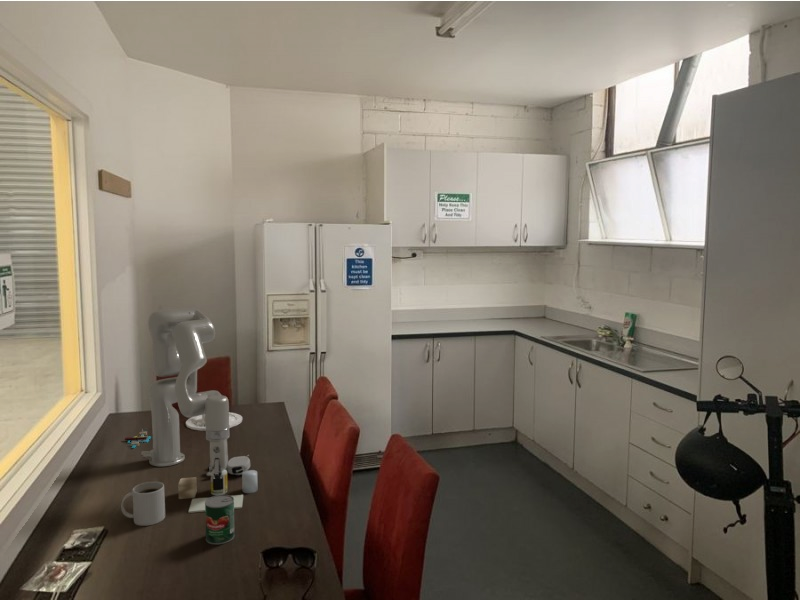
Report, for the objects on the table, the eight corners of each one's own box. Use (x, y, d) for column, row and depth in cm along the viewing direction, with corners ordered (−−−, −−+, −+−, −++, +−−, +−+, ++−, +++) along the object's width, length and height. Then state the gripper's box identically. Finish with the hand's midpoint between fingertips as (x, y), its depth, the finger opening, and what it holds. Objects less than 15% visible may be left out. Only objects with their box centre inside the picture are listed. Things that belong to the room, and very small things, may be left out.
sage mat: (188, 512, 183) (188, 511, 183) (192, 500, 192) (192, 498, 192) (241, 508, 186) (241, 506, 186) (243, 496, 195) (243, 494, 195)
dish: (187, 417, 281) (186, 394, 279) (241, 412, 288) (240, 390, 287) (184, 433, 257) (183, 408, 256) (243, 428, 265) (243, 403, 264)
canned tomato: (207, 547, 163) (206, 508, 162) (204, 533, 170) (203, 497, 169) (236, 541, 166) (235, 503, 165) (232, 528, 173) (231, 492, 172)
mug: (171, 514, 182) (170, 483, 181) (149, 529, 173) (147, 496, 172) (143, 509, 185) (142, 478, 184) (120, 523, 176) (118, 490, 175)
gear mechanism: (118, 451, 237) (143, 449, 238) (118, 437, 236) (142, 436, 238) (132, 434, 256) (154, 433, 258) (131, 422, 256) (154, 421, 257)
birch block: (178, 499, 193) (178, 484, 192) (181, 492, 198) (180, 478, 197) (194, 497, 194) (194, 483, 193) (196, 491, 199) (196, 477, 198)
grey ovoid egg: (242, 493, 197) (241, 476, 196) (242, 487, 202) (242, 470, 201) (257, 492, 198) (257, 475, 197) (257, 486, 203) (257, 469, 202)
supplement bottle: (216, 497, 194) (215, 469, 193) (207, 492, 197) (206, 465, 196) (230, 492, 198) (230, 464, 197) (221, 487, 201) (221, 460, 200)
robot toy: (206, 483, 207) (250, 477, 210) (204, 471, 207) (248, 465, 209) (210, 470, 219) (251, 464, 222) (209, 458, 219) (250, 452, 221)
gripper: (227, 441, 188) (228, 495, 190) (231, 424, 205) (232, 474, 207) (202, 442, 186) (204, 497, 188) (208, 425, 203) (210, 476, 205)
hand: (219, 485), depth 197 cm, fingers closed on supplement bottle, 5 cm apart
